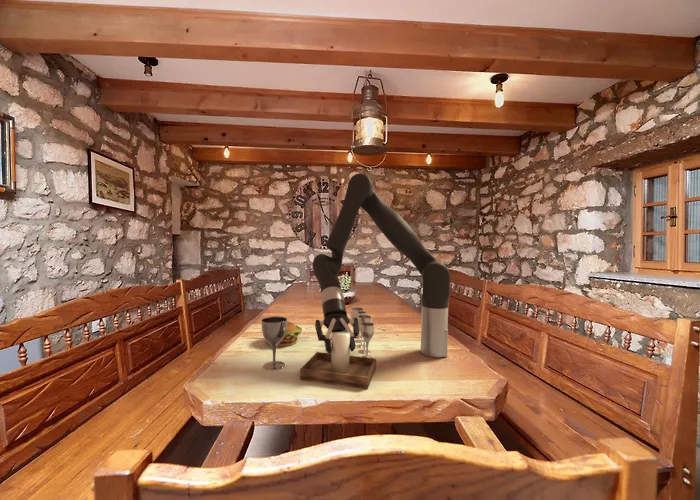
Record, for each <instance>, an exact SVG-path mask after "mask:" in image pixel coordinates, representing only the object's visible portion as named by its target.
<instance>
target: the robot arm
mask: <svg viewBox="0 0 700 500" xmlns="http://www.w3.org/2000/svg"><path fill="white" fill-rule="evenodd" d="M360 209H362V210H363V211H364V212H365V213H366V214H367V215H368V216H369V217H370V218H371V220H372V221H373V223H374V224H375V225H376V227H377V228H378V229H379V230H380V232H381V233H382V234H383V235H384V236H385V238H386V239H387V240H388V241H389V242H390V243H391V244H392V245H393V247H395V248H396V250H397V251H399V252H400V253H401V254H402V255H403V256H405V257H406V258H407V259H408V260H409V261H410V262H411V263H412V264H413V266H414V267H415V268H416V269H417V271H418V273H420V275H421V277H422V294H421V318H420V319H421V321H420V353H421V354H423V355H424V356H427V357H429V358H430V357H431V358H443V357H444V358H447V357H448V346H449V345H448V343H449V342H448V340H449V337H448V336H449V330H448V325H449V324H448V323H449V319H448V318H449V301H450V288H451V273H450V270H449V268H448V267H447V266H446V265H445V264H444V263H442V262H441V261H440V260H439V259H437V258H436V257H435V256H434V255H433V254H432V253H431V252H430V251H429V250H428V249H427V248H426V247H425V246H424V244H423V242H422V241H421V239H420V238H419V236H418V235H417V233H416V231H414V230H413V228H412V227H411V226H410V225H409V223H408V222H407V221H406V220H405V219H404V218H403V217H402V216H401V215H400V214H399V213H398V212H396V211H395V210H394V209H393V208H391V207H389V206H388V205H387V204H386V203H385V202H384V201H383V200H382V199H381V198H380V196H379V195H378V194H377V193H376V191H375V190H374V188H373V182H372V180H371V178H370V177H369V176H368V175H367V174H366V173H362V172H361V173H356V174H354V175H352V176H351V177H350V179H349V180H348V182H347V188H346V193H345V196H344V199H343V202H342V205H341V208H340V210H339V214H338V216H337V218H336V219H335V223H334V224H333V227H332V229H331V231H330V234H329V236H328V239H327V240H326V243H325V246H326V248H327V249H328V250H329V251H330V252H331V256H329V255H326V254H325V253H324V254H323V253H319V254H317V255H316V256H314V259H313V261H312V270H313V273H314V275H315V278H316V280H317V281H318V284H319V287H320V294H321V298H320V300H321V306H322V312H323V320H319V319H316V320H315V323H314V328H315V331H316V336H317V340H318V341H319V342H320V341H322V342H324V348H325V351H326V353H331V352H332V348H331V342H332V340H331V338H330V337H331V336H332V332H335V331H346V332H349V333H350V352H351V353H352V352H354V350H356V348H357V347H356V346H357V345H356V342H355V340H356V339H355V338H357V337H358V335H360V334H359V326H358V318H354V319H351V318H349V317H348V314H347V308H346V303H345V302H346V301H345V297H344V295H343V292H342V287H341V282H340V279H339V277H338V275H339V274H340V272H341V270H342V265H343V258H344V251H345V248H346V246H347V244H348V241H349V239H350V236H351V234H352V231H353V229H354V224H355V222H356V218H357V215H358V213H359V211H360ZM349 324H350V325H351V327H352V329H351V328H350V326H349ZM323 326H324V327H325V328H326V329H327V331H326V334H324V333H323V329H322V328H323Z"/></svg>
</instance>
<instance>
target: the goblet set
mask: <svg viewBox="0 0 700 500" xmlns="http://www.w3.org/2000/svg"><path fill="white" fill-rule="evenodd" d="M349 316H350V319H354V318H358V326H359V335H358V337H357V338H354V340H355V344H357V345H356V347H355V348H358V349H359V350H357V353H358V354H360V355H362V356H360V357H367V358H374V357H373V356H371V355H369V354H370V353H371V351H370V350H368V349H369V344H370V341H371V340H372V338H373V336H374V335H375V325H374V323H372V321H373V320H372V316H371V315H368V314H367V312H366V311H364V309H363V307H351V310H350V312H349Z"/></svg>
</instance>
